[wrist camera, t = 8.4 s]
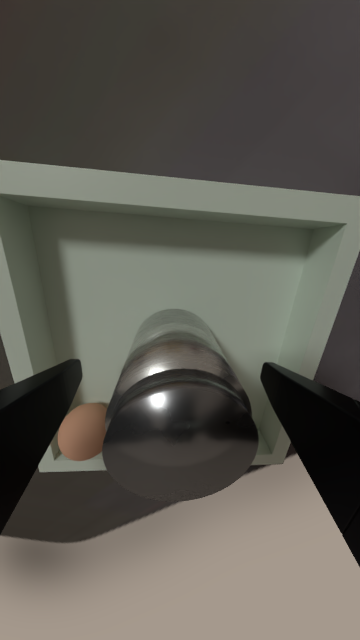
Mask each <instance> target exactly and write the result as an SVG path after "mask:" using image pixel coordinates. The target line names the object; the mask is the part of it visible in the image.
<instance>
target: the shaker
mask: <svg viewBox="0 0 360 640" xmlns="http://www.w3.org/2000/svg"><path fill="white" fill-rule="evenodd" d="M105 429H106V435H105V438H104V441H103V446H102V456H103V461H104V464H105V467H106V469H107V471H108V473H109V474H110V476H111V477H112V478H113V479H114V480H115V481H116V482H117V483H118V484H119V485H120V486H122V487H123V488H125V489H126V490H128V491H130V492H132V493H134V494H136V495H139V496H141V497H144V498H148V499H152V500H159V501H187V500H193V499H198V498H202V497H205V496H208V495H211V494H214V493H216V492H218V491H221V490H222V489H224V488H226V487H228V486H229V485H231V484H232V483H234V482H235V481H236V480H238V479H239V478H240V477H241V476H242V475H243V474H244V473H245V472H246V471H247V469H248V468H249V467H250V465H251V464H252V462H253V460H254V458H255V456H256V453H257V449H258V442H259V437H258V431H257V428H256V425H255V423H254V421H253V419H252V410H251V404H250V401H249V398H248V396H247V394H246V392H245V390H244V389H243V387H242V385H241V383H240V382H239V380H238V378H237V376H236V375H235V373H234V371H233V370H232V368H231V366H230V364H229V363H228V361H227V359H226V357H225V356H224V354H223V352H222V350H221V349H220V347H219V345H218V343H217V342H216V340H215V338H214V336H213V335H212V333H211V331H210V329H209V328H208V326H207V324H206V323H205V322H204V321H203V320H202V319H201V318H200V317H199V316H197V315H196V314H194V313H192V312H190V311H187V310H183V309H165V310H162V311H159V312H156V313H154V314H153V315H151V316H149V317H148V318H147V319H146V320H145V321H144V322H143V323H142V324H141V325H140V327H139V329H138V330H137V333H136V335H135V338H134V341H133V343H132V346H131V348H130V351H129V354H128V356H127V359H126V361H125V364H124V366H123V369H122V372H121V374H120V377H119V379H118V382H117V385H116V387H115V390H114V392H113V395H112V398H111V400H110V403H109V406H108V408H107V411H106V417H105Z"/></svg>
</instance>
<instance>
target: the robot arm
mask: <svg viewBox="0 0 360 640" xmlns="http://www.w3.org/2000/svg"><path fill="white" fill-rule="evenodd" d="M82 376H83V373H82V366H81V361H80V360H79V359H69V360H67V361H65V362H62V363H60V364H58V365H56V366H53V367H51V368H49V369H46V370H44V371H42V372H40V373H37V374H35V375H33V376H31V377H28V378H26V379H24V380H22V381H19V382H17V383H15V384H13V385H10V386H8V387H6V388H4V389H1V390H0V534H1V532H2V531H3V529H4V527H5V525H6V523H7V522H8V520H9V518H10V516H11V514H12V512H13V511H14V509H15V507H16V505H17V503H18V502H19V500H20V498H21V496H22V494H23V492H24V491H25V489H26V487H27V485H28V483H29V482H30V480H31V478H32V476H33V474H34V472H35V471H36V469H37V467H38V465H39V463H40V462H41V460H42V458H43V456H44V454H45V452H46V451H47V449H48V447H49V445H50V443H51V442H52V440H53V438H54V436H55V434H56V432H57V431H58V429H59V427H60V425H61V423H62V422H63V420H64V418H65V416H66V414H67V412H68V410H69V408H70V406H71V404H72V402H73V399H74V397H75V394H76V392H77V390H78V387H79V385H80V383H81V380H82ZM260 380H261V383H262V385H263V387H264V390H265V392H266V394H267V397H268V399H269V401H270V404H271V406H272V408H273V410H274V412H275V414H276V415H277V417H278V419H279V421H280V423H281V425H282V426H283V428H284V430H285V432H286V434H287V435H288V437H289V439H290V441H291V443H292V445H293V446H294V448H295V450H296V452H297V454H298V455H299V457H300V459H301V461H302V463H303V465H304V466H305V468H306V470H307V472H308V474H309V475H310V477H311V479H312V481H313V482H314V484H315V486H316V488H317V490H318V492H319V493H320V495H321V497H322V499H323V501H324V503H325V504H326V506H327V508H328V510H329V512H330V514H331V515H332V517H333V519H334V521H335V523H336V524H337V526H338V528H339V530H340V532H341V533H342V534H343V537H344V539H345V541H346V543H347V545H348V547H349V548H350V550H351V552H352V554H353V556H354V557H355V559H356V561H357V563H358V565H359V566H360V402H359V401H357V400H353V399H352V398H350V397H348V396H346V395H343V394H341V393H339V392H337V391H335V390H332V389H330V388H328V387H326V386H324V385H321V384H319V383H317V382H315V381H313V380H310V379H308V378H306V377H304V376H302V375H299V374H297V373H295V372H293V371H291V370H288V369H286V368H284V367H282V366H280V365H278V364H275V363H273V362H265V363H263V366H262V370H261V374H260Z"/></svg>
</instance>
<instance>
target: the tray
mask: <svg viewBox="0 0 360 640" xmlns="http://www.w3.org/2000/svg"><path fill="white" fill-rule="evenodd" d="M359 251H360V196H351V195H341V194H331V193H322V192H312V191H302V190H292V189H282V188H272V187H262V186H252V185H242V184H232V183H222V182H213V181H203V180H193V179H183V178H173V177H163V176H153V175H143V174H133V173H123V172H113V171H104V170H94V169H84V168H74V167H64V166H54V165H44V164H34V163H24V162H14V161H4V160H0V334H1V337H2V341H3V344H4V348H5V351H6V355H7V358H8V362H9V365H10V369H11V372H12V376H13V379H14V383H17V382H19V381H22V380H24V379H26V378H28V377H31V376H33V375H35V374H37V373H40V372H42V371H44V370H46V369H49V368H51V367H53V366H56V365H58V364H60V363H62V362H65V361H67V360H69V359H79V360H80V361H81V366H82V373H83V376H82V380H81V383H80V385H79V387H78V390H77V392H76V394H75V397H74V399H73V402H72V404H71V406H70V408H69V410H68V412H67V414H66V416H67V415H68V414H69V413H70V412H71V411H72V410H73V409H75V408H76V407H78V406H80V405H83V404H86V403H98V404H101V405H103V406H105V407H106V408H108V406H109V403H110V400H111V398H112V395H113V392H114V390H115V387H116V385H117V382H118V379H119V377H120V374H121V372H122V369H123V366H124V364H125V361H126V359H127V356H128V354H129V351H130V348H131V346H132V343H133V341H134V338H135V335H136V333H137V330H138V329H139V327H140V325H141V324H142V323H143V322H144V321H145V320H146V319H147V318H148V317H149V316H151V315H153V314H154V313H156V312H159V311H162V310H165V309H183V310H187V311H190V312H192V313H194V314H196V315H197V316H199V317H200V318H201V319H202V320H203V321H204V322H205V323H206V324H207V326H208V328H209V329H210V331H211V333H212V335H213V336H214V338H215V340H216V342H217V343H218V345H219V347H220V349H221V350H222V352H223V354H224V356H225V357H226V359H227V361H228V363H229V364H230V366H231V368H232V370H233V371H234V373H235V375H236V376H237V378H238V380H239V382H240V383H241V385H242V387H243V389H244V390H245V392H246V394H247V396H248V398H249V401H250V404H251V410H252V419H253V421H254V423H255V425H256V428H257V431H258V437H259V442H258V449H257V453H256V456H255V458H254V460H253V462H252V464H251V465H271V464H283V462H284V460H285V457H286V454H287V451H288V448H289V446H290V443H291V441H290V439H289V437H288V435H287V434H286V432H285V430H284V428H283V426H282V425H281V423H280V421H279V419H278V417H277V415H276V414H275V412H274V410H273V408H272V406H271V404H270V401H269V399H268V397H267V394H266V392H265V390H264V387H263V385H262V383H261V380H260V374H261V370H262V366H263V363H265V362H273V363H275V364H278V365H280V366H282V367H284V368H286V369H288V370H291V371H293V372H295V373H297V374H299V375H302V376H304V377H306V378H308V379H310V380H313V379H314V376H315V373H316V371H317V368H318V365H319V362H320V359H321V357H322V354H323V351H324V348H325V345H326V343H327V340H328V337H329V334H330V332H331V329H332V326H333V323H334V320H335V318H336V315H337V312H338V309H339V307H340V304H341V301H342V298H343V295H344V293H345V290H346V287H347V284H348V281H349V279H350V276H351V273H352V270H353V268H354V265H355V262H356V259H357V256H358V254H359ZM66 416H65V417H66ZM64 419H65V418H64ZM59 428H60V427H59ZM58 431H59V429H58ZM58 431H57V432H56V434H55V436H54V438H53V440H52V442H51V443H50V445H49V447H48V449H47V451H46V452H45V454H44V456H43V458H42V460H41V462H40V463H39V465H38V467H39V471H40V472H61V471H91V470H107V469H106V467H105V464H104V461H103V456H102V451H101V452H100V453H99V454H98V455H96V456H95V457H93V458H91V459H88V460H85V461H74V460H70V459H68V458H67V457H65V456H64V455H63V454H62V452H61V451H60V449H59V446H58Z"/></svg>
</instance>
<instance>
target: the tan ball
mask: <svg viewBox="0 0 360 640" xmlns="http://www.w3.org/2000/svg"><path fill="white" fill-rule="evenodd" d="M106 411H107V408H106V407H105V406H103V405H101V404H98V403H86V404H83V405H80V406H78V407H76V408H75V409H73V410H72V411H71V412H70V413H69V414H68V415H67V416H66V417H65V419H64V420H63V422H62V423H61V425H60V428H59V431H58V446H59V449H60V451H61V452H62V454H63V455H64V456H65V457H67V458H68V459H70V460H74V461H85V460H88V459H91V458H93V457H95V456H96V455H98V454H99V453H100V452H101V451H102V446H103V441H104V438H105V435H106V429H105V417H106Z"/></svg>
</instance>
